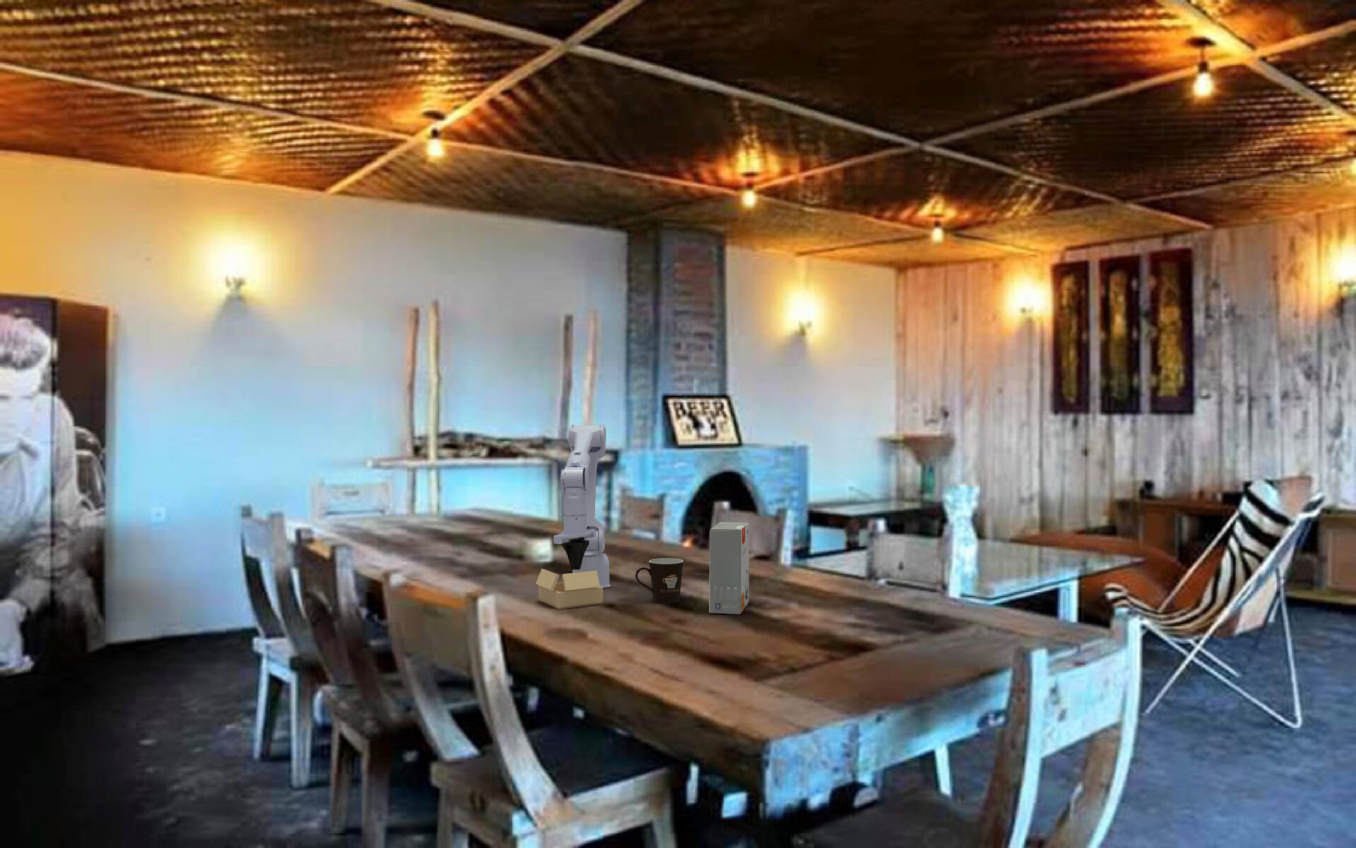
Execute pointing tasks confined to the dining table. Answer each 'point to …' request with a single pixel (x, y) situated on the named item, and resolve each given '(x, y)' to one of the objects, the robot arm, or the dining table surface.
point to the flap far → (547, 579)
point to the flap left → (580, 580)
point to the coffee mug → (664, 579)
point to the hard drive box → (729, 568)
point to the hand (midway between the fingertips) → (575, 569)
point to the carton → (570, 596)
